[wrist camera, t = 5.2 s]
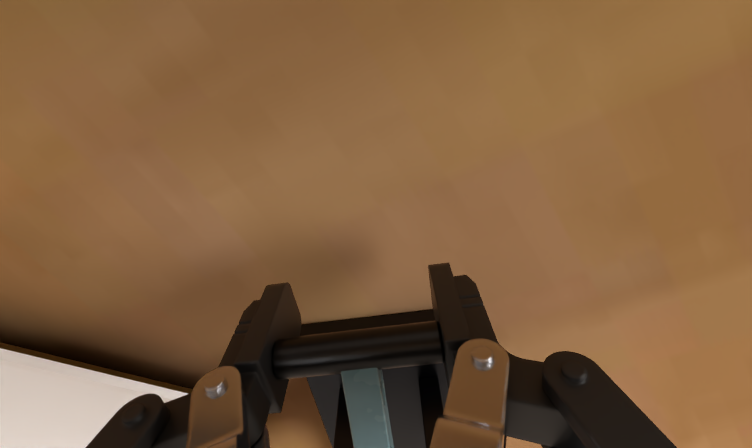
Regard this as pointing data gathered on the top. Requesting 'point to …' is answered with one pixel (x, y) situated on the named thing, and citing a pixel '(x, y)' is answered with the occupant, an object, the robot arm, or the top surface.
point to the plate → (63, 398)
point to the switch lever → (361, 368)
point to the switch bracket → (402, 387)
